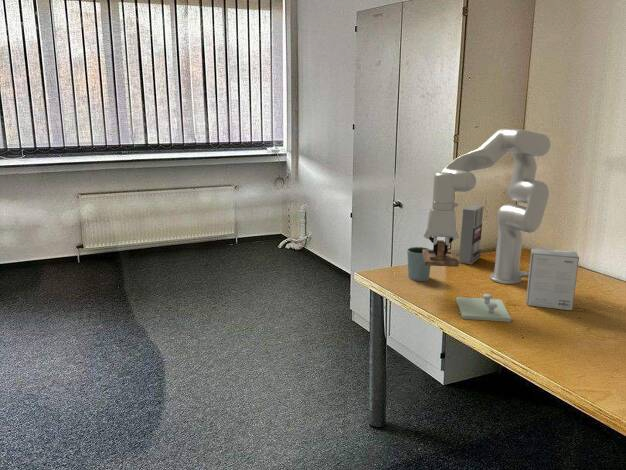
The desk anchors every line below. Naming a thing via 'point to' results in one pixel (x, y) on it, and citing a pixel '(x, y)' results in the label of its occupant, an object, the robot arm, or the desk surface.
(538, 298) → the hard drive box
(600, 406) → the desk surface
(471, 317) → the board
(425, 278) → the blue-grey cup
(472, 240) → the tall grey labeled box
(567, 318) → the desk surface
